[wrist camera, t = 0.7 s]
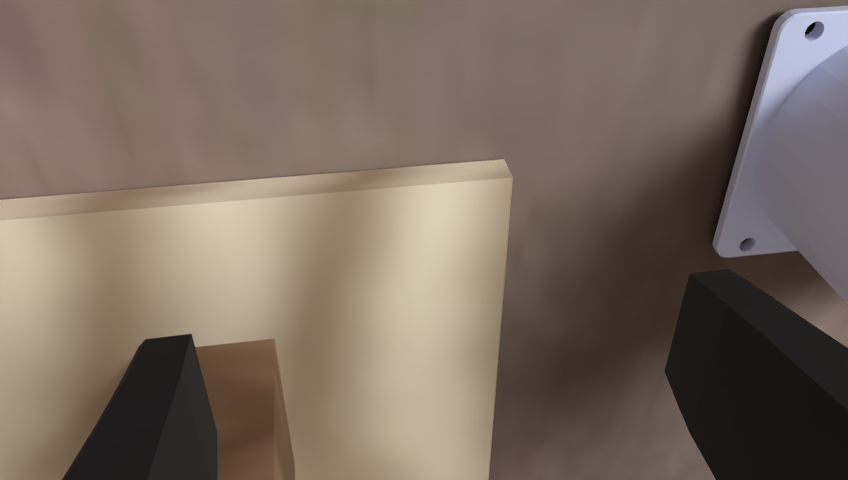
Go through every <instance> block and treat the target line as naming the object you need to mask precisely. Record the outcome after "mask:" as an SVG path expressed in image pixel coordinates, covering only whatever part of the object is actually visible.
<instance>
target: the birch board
mask: <svg viewBox="0 0 848 480" xmlns="http://www.w3.org/2000/svg"><path fill="white" fill-rule="evenodd" d="M512 181H513V177H512V175H511V173H510V171H509V169H508V166H507V164H506V162H505V160H504V159H501V160H488V161H476V162H464V163H451V164H439V165H426V166H414V167H401V168H389V169H377V170H364V171H352V172H339V173H327V174H315V175H302V176H290V177H277V178H265V179H252V180H240V181H228V182H215V183H203V184H190V185H178V186H166V187H153V188H141V189H128V190H116V191H103V192H91V193H79V194H66V195H54V196H41V197H29V198H17V199H4V200H0V480H62V478H63V477H64V475H65V474H66V472H67V471H68V469H69V467H70V466H71V464H72V463H73V461H74V459H75V458H76V456H77V454H78V453H79V451H80V450H81V448H82V446H83V445H84V443H85V441H86V440H87V438H88V437H89V435H90V433H91V432H92V430H93V429H94V427H95V425H96V424H97V422H98V420H99V418H100V417H101V415H102V413H103V411H104V410H105V408H106V406H107V404H108V403H109V401H110V399H111V398H112V396H113V394H114V392H115V390H116V389H117V387H118V385H119V383H120V381H121V379H122V378H123V376H124V374H125V372H126V370H127V368H128V366H129V364H130V362H131V361H132V359H133V357H134V355H135V353H136V351H137V349H138V347H139V346H140V345H141V344H142V342H143V341H144V340H145V339H151V338H160V337H168V336H176V335H185V334H192V337H193V341H194V345H195V347H201V346H210V345H220V344H229V343H238V342H248V341H257V340H267V339H275V345H276V351H277V357H278V363H279V370H280V376H281V382H282V388H283V395H284V401H285V407H286V413H287V420H288V426H289V432H290V438H291V445H292V451H293V457H294V463H295V480H489V467H490V455H491V442H492V430H493V418H494V405H495V393H496V380H497V368H498V355H499V343H500V331H501V318H502V306H503V293H504V281H505V268H506V256H507V244H508V231H509V219H510V206H511V194H512Z"/></svg>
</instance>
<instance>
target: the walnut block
mask: <svg viewBox="0 0 848 480" xmlns="http://www.w3.org/2000/svg"><path fill="white" fill-rule="evenodd" d="M195 349H196V353H197V356H198V360H199V364H200V368H201V372H202V376H203V379H204V383H205V387H206V391H207V395H208V399H209V403H210V406H211V410H212V414H213V418H214V422H215V426H216V429H217V466H218V474H217V480H295V463H294V457H293V451H292V445H291V438H290V432H289V426H288V420H287V413H286V407H285V401H284V395H283V388H282V382H281V376H280V370H279V363H278V357H277V351H276V345H275V339H267V340H257V341H248V342H238V343H229V344H220V345H210V346H201V347H195Z"/></svg>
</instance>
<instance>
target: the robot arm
mask: <svg viewBox="0 0 848 480" xmlns="http://www.w3.org/2000/svg"><path fill="white" fill-rule="evenodd" d="M814 22H816V24H815V27H814V29H813V30H812V31H811V32H810V33H809V34H806V35H805V31H806V29H807V27H808V26H809V25H810V24H812V23H814ZM747 238H748V240H747V241H745V242H744V243H741V242H742V241H744V240H745V239H747ZM713 247H714V249H715V251H716V252H717V253H718V254H719V255H720V256H722V257H726V258H730V257H740V256H750V255H760V254H770V253H780V252H790V251H799V252H800V253H801V254H802V255H803V257H804V258H805V259H806V260H807V261H808V262H809V263H810V264H811V265H812V266H813V267H814V269H815V270H816V271H817V272H818V273H819V274H820V275H821V276H822V277H823V278H824V280H825V281H826V282H827V283H828V284H829V285H830V286H831V287H832V288H833V289H834V291H835V292H836V293H837V294H838V295H839V296H840V297H841V298H842V299H843V300H844V301H845V303H846V304H847V305H848V6H837V7H820V8H803V9H793V10H789V11H787V12H785V13H784V14H782V15H781V16H780V17H779V18H778V19H777V20H776V21H775V24H774V26H773V28H772V31H771V35H770V38H769V42H768V45H767V49H766V52H765V56H764V60H763V63H762V67H761V70H760V74H759V78H758V81H757V85H756V88H755V92H754V95H753V99H752V103H751V106H750V110H749V113H748V117H747V121H746V124H745V128H744V131H743V135H742V139H741V142H740V146H739V149H738V153H737V156H736V160H735V164H734V167H733V171H732V174H731V178H730V182H729V185H728V189H727V192H726V196H725V199H724V203H723V207H722V210H721V214H720V217H719V221H718V225H717V228H716V232H715V235H714V239H713ZM665 373H666V376H667V378H668V381H669V383H670V386H671V388H672V391H673V394H674V396H675V399H676V401H677V404H678V406H679V409H680V411H681V413H682V416H683V418H684V420H685V423H686V425H687V427H688V430H689V432H690V434H691V436H692V437H693V439H694V441H695V443H696V445H697V447H698V448H699V450H700V452H701V454H702V455H703V457H704V459H705V461H706V463H707V464H708V466H709V468H710V470H711V471H712V473H713V475H714V477H715V479H716V480H848V348H847V347H845V346H844V345H842V344H841V343H839V342H838V341H836V340H835V339H833V338H832V337H830V336H829V335H827V334H826V333H824V332H823V331H821V330H820V329H818V328H817V327H815V326H814V325H812V324H811V323H809V322H808V321H806V320H805V319H803V318H802V317H800V316H799V315H797V314H796V313H794V312H793V311H791V310H790V309H789V308H787V307H786V306H784V305H783V304H781V303H780V302H778V301H777V300H775V299H774V298H772V297H771V296H769V295H768V294H766V293H765V292H763V291H762V290H760V289H759V288H757V287H756V286H754V285H753V284H751V283H750V282H748V281H747V280H745V279H743V278H742V277H740V276H739V275H737V274H735V273H734V272H732V271H730V270H729V269H726V270H718V271H709V272H701V273H693V274H690V275H689V279H688V283H687V287H686V290H685V294H684V298H683V302H682V306H681V310H680V314H679V318H678V321H677V325H676V329H675V333H674V337H673V341H672V345H671V349H670V353H669V356H668V360H667V364H666V368H665ZM217 474H218V466H217V429H216V426H215V422H214V418H213V414H212V410H211V406H210V403H209V399H208V395H207V391H206V387H205V383H204V379H203V376H202V372H201V368H200V364H199V360H198V356H197V353H196V349H195V345H194V341H193V337H192V334H185V335H176V336H168V337H160V338H151V339H145V340H144V341H143V342H142V344H141V345H140V346H139V347H138V349H137V351H136V353H135V355H134V357H133V359H132V361H131V362H130V364H129V366H128V368H127V370H126V372H125V374H124V376H123V378H122V379H121V381H120V383H119V385H118V387H117V389H116V390H115V392H114V394H113V396H112V398H111V399H110V401H109V403H108V404H107V406H106V408H105V410H104V411H103V413H102V415H101V417H100V418H99V420H98V422H97V424H96V425H95V427H94V429H93V430H92V432H91V433H90V435H89V437H88V438H87V440H86V441H85V443H84V445H83V446H82V448H81V450H80V451H79V453H78V454H77V456H76V458H75V459H74V461H73V463H72V464H71V466H70V467H69V469H68V471H67V472H66V474H65V475H64V477H63V478H62V480H217Z"/></svg>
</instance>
